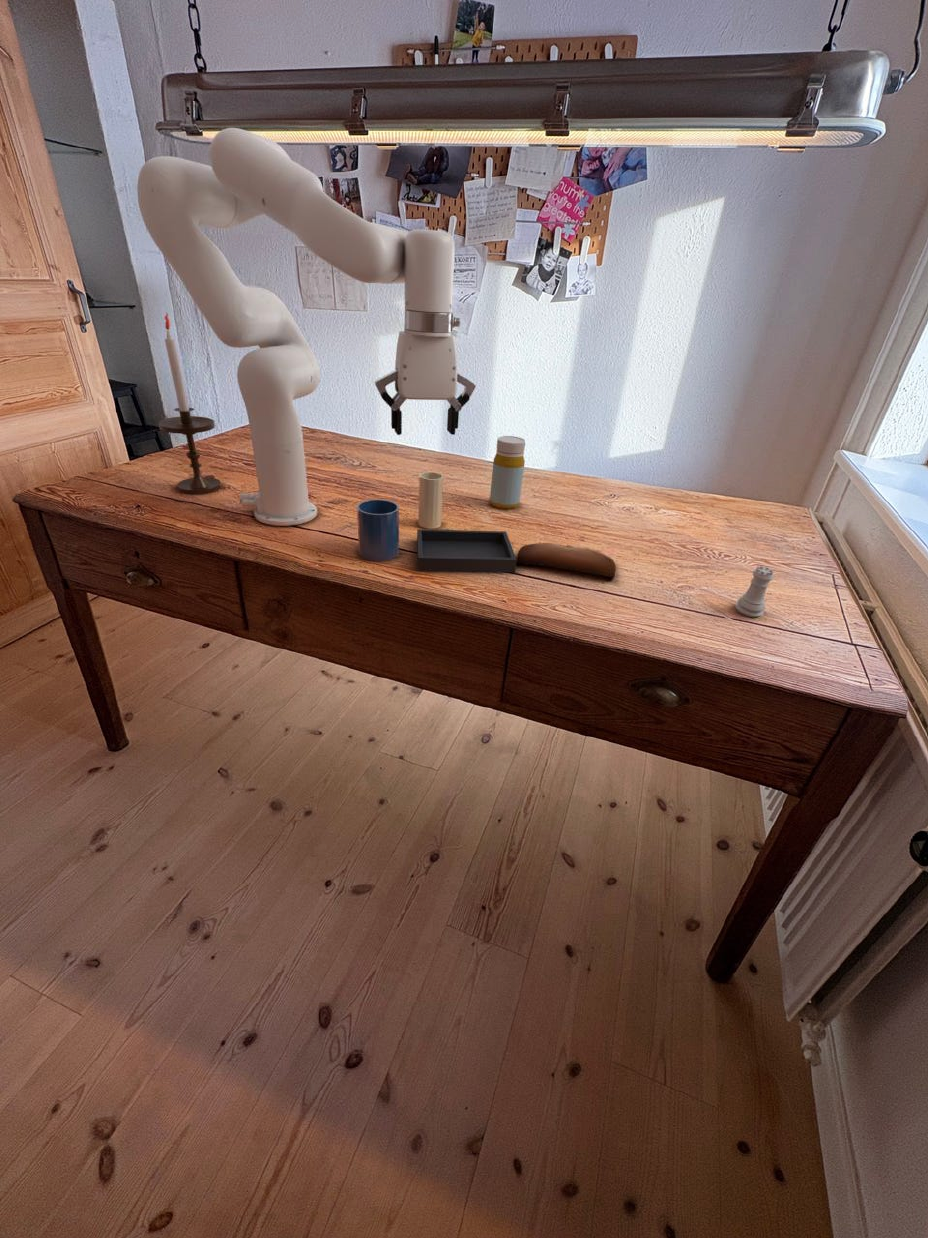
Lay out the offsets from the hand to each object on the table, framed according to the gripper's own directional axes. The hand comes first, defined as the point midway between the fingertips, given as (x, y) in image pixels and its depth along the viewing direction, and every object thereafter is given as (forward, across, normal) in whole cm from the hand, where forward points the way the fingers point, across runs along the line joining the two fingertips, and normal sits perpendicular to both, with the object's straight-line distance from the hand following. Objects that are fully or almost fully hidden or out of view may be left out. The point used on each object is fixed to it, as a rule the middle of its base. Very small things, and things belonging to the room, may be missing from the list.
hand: (424, 432), depth 97 cm
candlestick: (+21, +44, -36) cm, 61 cm away
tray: (+21, -6, +8) cm, 23 cm away
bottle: (+21, -24, -17) cm, 36 cm away
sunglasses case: (+21, -24, +15) cm, 35 cm away
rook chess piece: (+21, -49, +36) cm, 64 cm away
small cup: (+21, -4, -8) cm, 23 cm away
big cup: (+21, +9, +4) cm, 23 cm away
